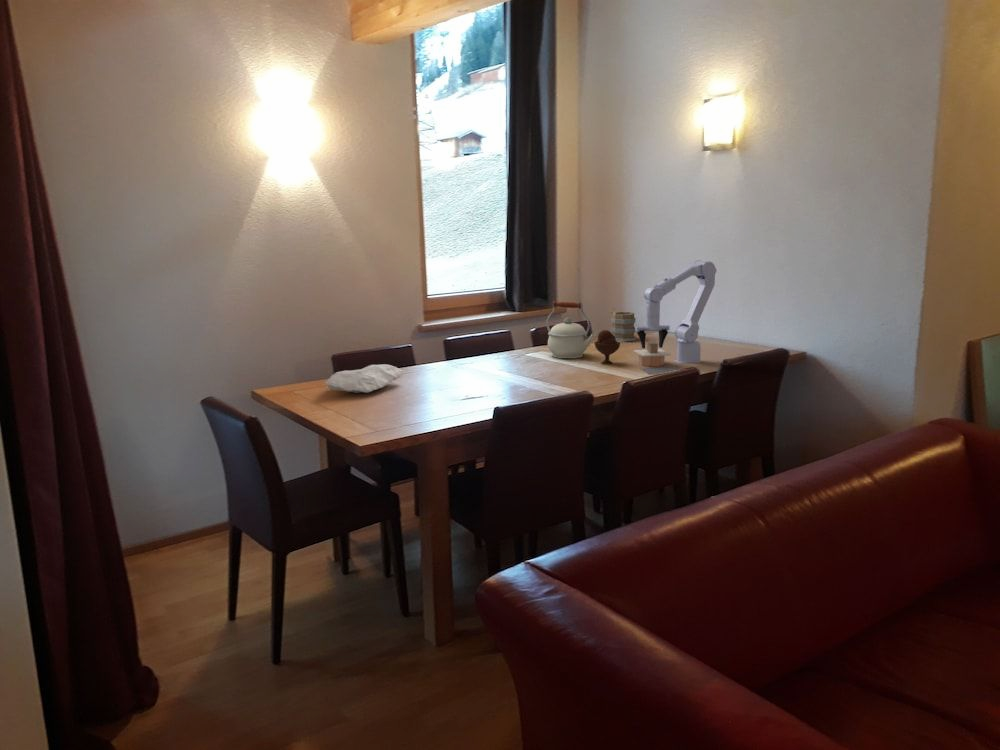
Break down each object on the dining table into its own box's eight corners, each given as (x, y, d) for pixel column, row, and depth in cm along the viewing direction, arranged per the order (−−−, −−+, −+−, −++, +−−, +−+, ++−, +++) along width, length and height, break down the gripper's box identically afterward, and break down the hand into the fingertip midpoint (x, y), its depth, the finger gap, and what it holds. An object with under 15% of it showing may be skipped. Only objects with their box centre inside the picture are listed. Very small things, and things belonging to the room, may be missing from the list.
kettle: (537, 357, 345) (536, 302, 340) (556, 350, 360) (556, 298, 355) (585, 362, 332) (586, 305, 326) (604, 355, 347) (604, 301, 341)
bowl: (658, 361, 330) (658, 350, 328) (666, 366, 320) (667, 354, 319) (636, 362, 328) (636, 351, 327) (644, 367, 318) (644, 355, 317)
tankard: (639, 341, 380) (640, 311, 377) (616, 343, 377) (617, 313, 374) (622, 335, 399) (623, 307, 396) (600, 337, 396) (600, 308, 393)
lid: (660, 350, 329) (660, 339, 328) (670, 355, 318) (671, 344, 317) (634, 351, 328) (634, 341, 327) (643, 356, 316) (643, 345, 315)
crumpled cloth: (304, 390, 285) (305, 367, 282) (378, 373, 310) (378, 352, 307) (342, 409, 270) (343, 385, 267) (416, 390, 295) (417, 368, 292)
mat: (676, 367, 317) (676, 366, 317) (687, 373, 306) (687, 372, 306) (639, 369, 315) (639, 368, 315) (649, 375, 304) (649, 374, 303)
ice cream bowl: (619, 366, 321) (619, 331, 318) (593, 366, 323) (593, 331, 320) (620, 361, 331) (621, 328, 328) (595, 361, 333) (595, 327, 330)
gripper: (639, 318, 315) (638, 350, 317) (672, 316, 317) (671, 348, 320) (633, 315, 321) (633, 347, 324) (666, 314, 323) (665, 345, 326)
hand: (652, 347), depth 322 cm, fingers open, 7 cm apart
